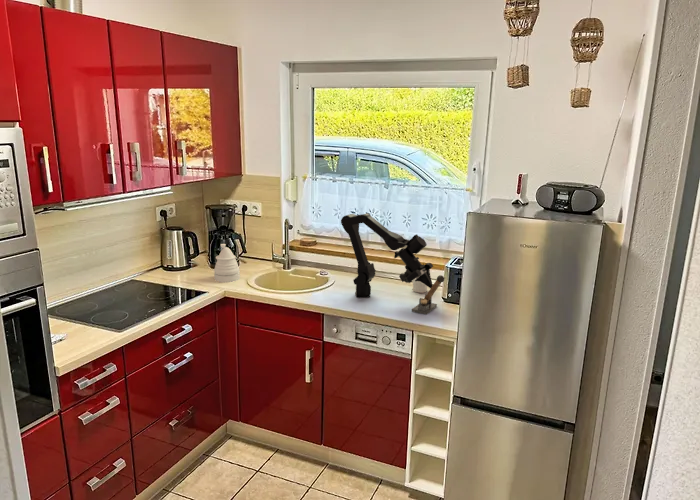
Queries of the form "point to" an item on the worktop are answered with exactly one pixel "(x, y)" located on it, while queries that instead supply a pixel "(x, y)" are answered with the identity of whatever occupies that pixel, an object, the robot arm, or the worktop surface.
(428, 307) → the press base
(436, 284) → the lever
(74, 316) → the worktop surface
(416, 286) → the white cup
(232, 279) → the honey pot
